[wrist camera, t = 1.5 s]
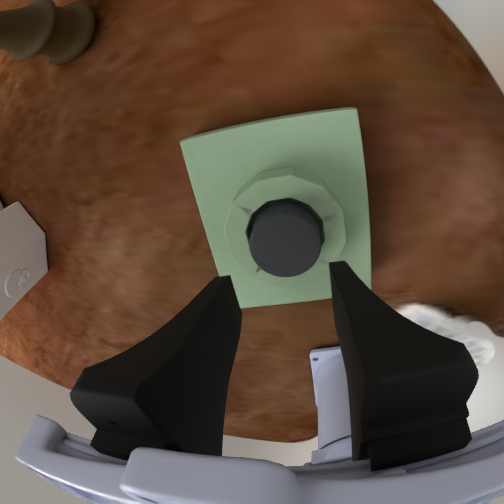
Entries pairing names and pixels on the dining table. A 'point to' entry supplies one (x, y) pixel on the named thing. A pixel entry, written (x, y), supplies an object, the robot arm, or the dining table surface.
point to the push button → (285, 240)
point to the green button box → (283, 196)
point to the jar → (19, 255)
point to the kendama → (47, 31)
